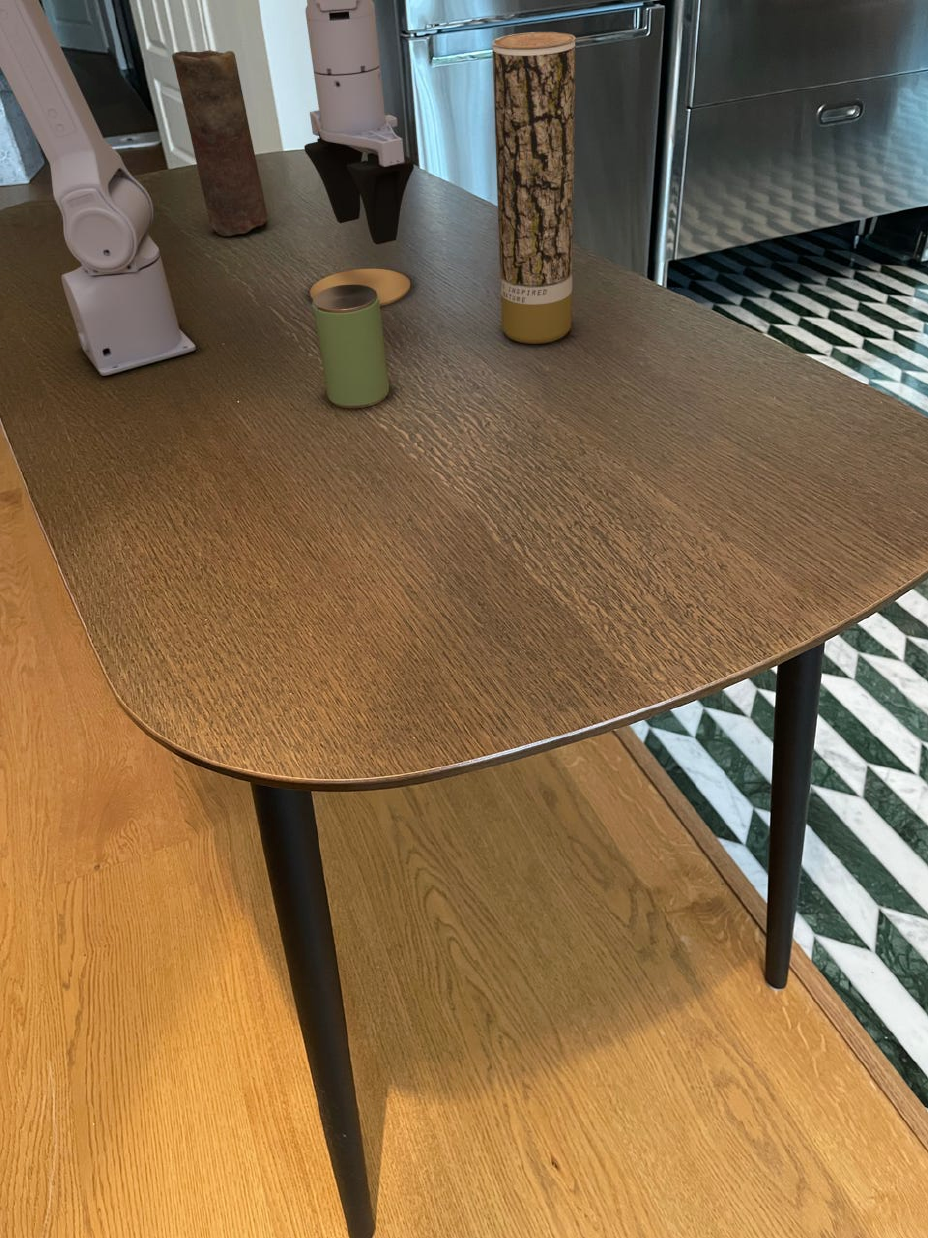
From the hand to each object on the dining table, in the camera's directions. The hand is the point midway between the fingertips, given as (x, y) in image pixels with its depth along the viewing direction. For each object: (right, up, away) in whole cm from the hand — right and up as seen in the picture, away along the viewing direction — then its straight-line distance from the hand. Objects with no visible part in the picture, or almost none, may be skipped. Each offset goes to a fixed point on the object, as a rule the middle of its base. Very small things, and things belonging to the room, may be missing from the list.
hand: (366, 230), depth 92 cm
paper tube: (+16, -9, +4) cm, 19 cm away
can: (0, -16, -4) cm, 17 cm away
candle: (-19, +13, +33) cm, 41 cm away
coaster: (-2, -1, +14) cm, 15 cm away
